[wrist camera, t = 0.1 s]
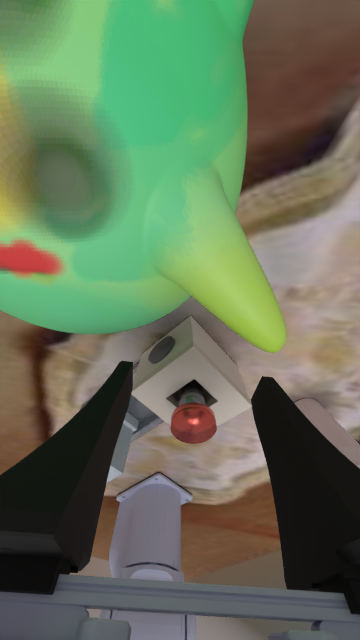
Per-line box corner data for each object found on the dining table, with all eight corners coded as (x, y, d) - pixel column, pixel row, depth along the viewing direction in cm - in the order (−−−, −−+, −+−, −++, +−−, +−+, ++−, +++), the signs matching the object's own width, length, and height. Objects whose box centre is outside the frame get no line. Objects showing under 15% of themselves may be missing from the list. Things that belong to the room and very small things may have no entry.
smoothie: (267, 413, 27) (342, 580, 15) (307, 380, 25) (436, 542, 12) (301, 434, 29) (396, 602, 16) (342, 405, 27) (488, 572, 14)
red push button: (188, 403, 22) (190, 449, 17) (165, 382, 20) (161, 426, 16) (216, 385, 21) (225, 429, 16) (193, 362, 20) (196, 403, 15)
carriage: (116, 435, 28) (100, 488, 22) (89, 416, 26) (65, 467, 21) (138, 420, 27) (127, 472, 21) (111, 400, 25) (92, 449, 20)
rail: (123, 435, 29) (119, 449, 27) (82, 405, 27) (75, 419, 25) (186, 394, 26) (186, 407, 24) (145, 357, 24) (141, 368, 22)
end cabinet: (188, 396, 26) (190, 442, 21) (139, 351, 24) (126, 390, 18) (236, 365, 24) (252, 406, 19) (188, 312, 22) (190, 342, 16)
